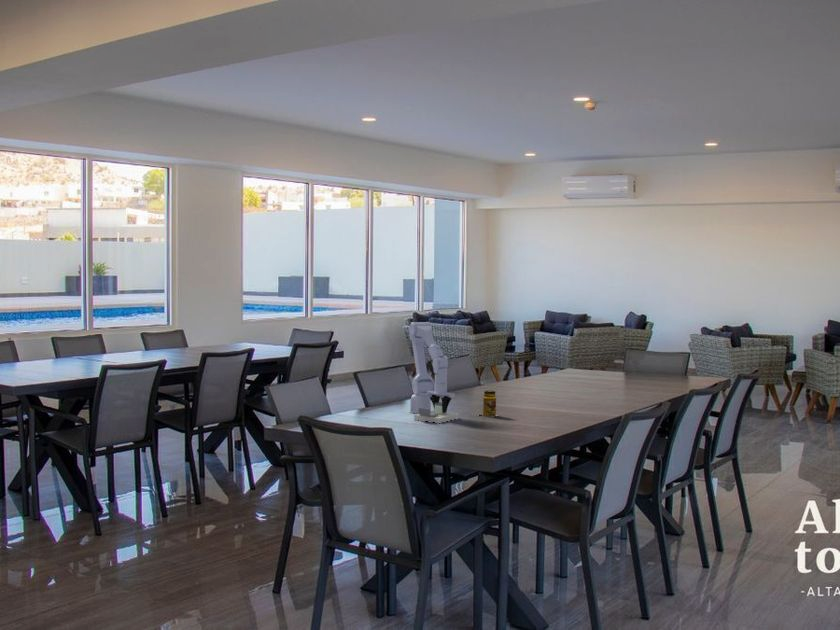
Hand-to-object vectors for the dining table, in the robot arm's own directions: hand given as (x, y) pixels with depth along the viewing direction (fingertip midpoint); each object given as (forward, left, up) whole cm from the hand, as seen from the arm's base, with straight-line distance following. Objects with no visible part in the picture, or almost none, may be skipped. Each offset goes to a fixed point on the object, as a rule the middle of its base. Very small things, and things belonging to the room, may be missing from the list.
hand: (440, 411), depth 392 cm
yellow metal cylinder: (+13, +21, -3) cm, 25 cm away
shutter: (0, -10, 0) cm, 10 cm away
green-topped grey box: (0, 0, -2) cm, 2 cm away
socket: (0, -3, -3) cm, 4 cm away
